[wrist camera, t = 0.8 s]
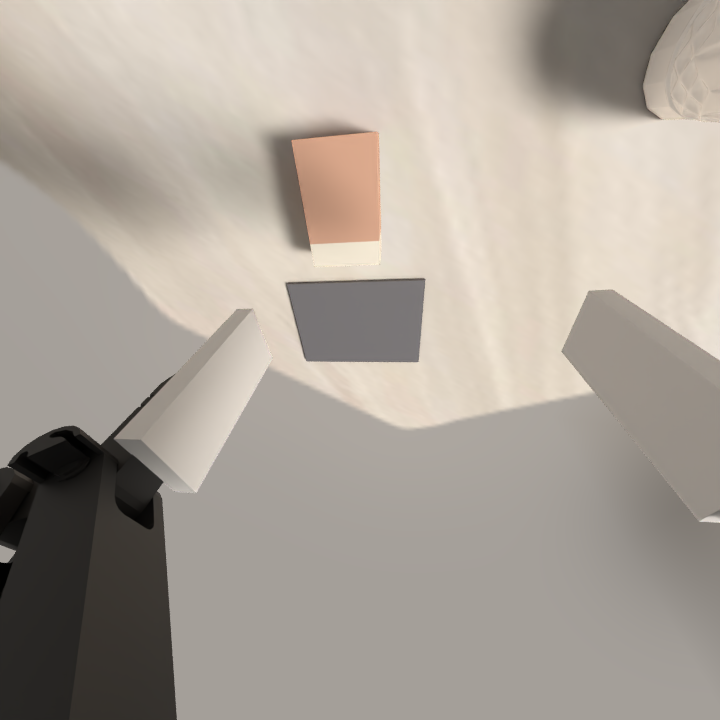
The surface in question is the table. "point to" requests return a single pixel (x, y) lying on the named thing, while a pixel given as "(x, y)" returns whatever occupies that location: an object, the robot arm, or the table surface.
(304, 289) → the mat
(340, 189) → the flat block
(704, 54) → the white cup
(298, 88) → the table surface
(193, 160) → the table surface
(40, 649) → the robot arm
